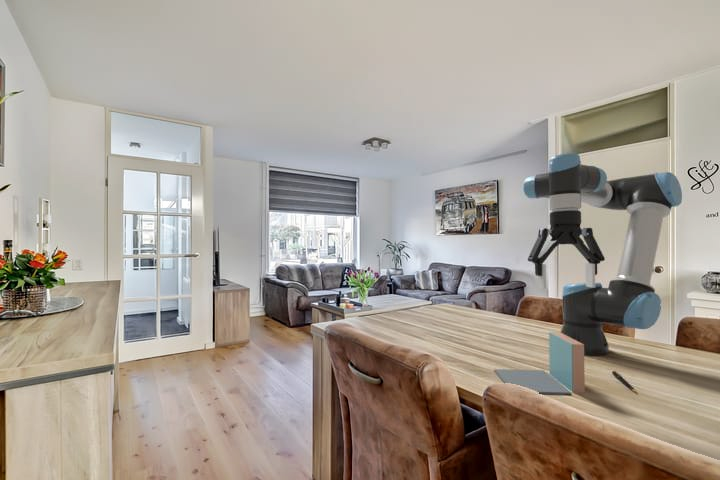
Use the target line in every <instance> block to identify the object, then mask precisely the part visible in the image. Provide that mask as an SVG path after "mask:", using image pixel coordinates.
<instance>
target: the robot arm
mask: <svg viewBox="0 0 720 480" xmlns="http://www.w3.org/2000/svg"><path fill="white" fill-rule="evenodd" d="M522 187H523V193H524V195H525V196H526V197H527V198H529V199H540V198H547V199H549V210H550V211H551V212H550V213H549V225H550V228H546V227H545V228H539V229H538V234H537V238H536V239H535V243H534V244H533V247H532V248H531V251H530V253H529V255H528V257H527V262H531V263H533V264H534V273H535V276H537V288H539V289H547V265H546V264H544V262H545V261H546V260H547V258H549V256H550V255H551V253H553V251H554V250H555V248H557V247H558V246H559V245H572V246H574V247H575V248H576V250H578V252H579V253H580V255H582V256H583V258H584V259H585V260H586V263H585V264H584V265H585V269H584V270H585V282H580V283H579V282H578V283H569V284H565V285H564V286H563V287H562V295H561V298H562V327H561V329H560V331H559V332H560V333H562V334H564V335H566V336H568V337H570V338H572V339H574V340H576V341H578V342H580V343H582V344H584V355H588V356H589V355H590V356H603V355H607V354H609V352H610V346H609V342H608V340H607V338H606V335H605V332H604V330H603V324H608V325H614V326H619V327H624V328H627V329H635V330H636V329H637V330H648V329H650V328H651V327H653V326H654V325H655V324H656V323H657V321H658V319H659V317H660V315H661V310H662V306H661V304H662V300H661V298H660V296H659V294H658V293H655V292H656V290H655V288H654V287H653V285H651V280H652V276H653V275H652V274H653V270H654V264H655V261H656V260H655V259H656V255H657V250H658V245H659V240H660V234H661V230H662V225H663V220H664V218H666V217H667V216H670V214H671V210H672V207H673V208H675V207H678V206H679V205H681V204H682V201H683V193H682V191H683V190H682V188H681V184H680V181H679V180H678V177H677V176H676V175H675V174H674V173H673V172H670V171H669V172H668V171H667V172H666V171H665V172H654V173H651V174H643V175H637V176H631V177H622V178H618V179H612V180H608V176H607V173H606V172H605V170H603V169H602V168H600V167H597V166H595V165H594V166H593V165H587V164H586V165H584V164H582V161H581V156H580V154H579V153H573V152H572V153H571V152H567V153H560V154H556V155H553V156H552V157H550V158H549V162H548V171H547V172H546V173H541V174H540V173H539V174H534V175H531V176H528V177H526V179H525V180H524V181H523V186H522ZM582 203H583V204H587V205H588V206H591V207H592V208H600V209H606V210H611V211H612V210H613V211H626V212H627V214H629V215H630V216H629V220H628V225H627V229H626V234H625V239H624V241H623V242H624V243H623V248H622V252H621V257H620V260H619V264H618V269H617V274H616V277H615V278H613V279H611V280H610V281H609V284H608V287H603V285H602V283H601V282H596V276H597V275H598V265H599V264H600V263H601V262H604V261H605V260H606V259H605V256H604V254H603V252H602V250H601V248H600V246H599V244H598V242H597V240H596V239H595V236H594V231H593V228H592V227H583V228H581V223H582V211H581V210H580V209H581V208H582ZM549 236H550V238H549V241H547V239H548V237H549ZM580 236H581V237H583V239H582V238H581V237H580ZM583 240H584V241H583ZM546 242H547V244H546V245H545V243H546ZM584 242H585V243H586V244H585V243H584Z"/></svg>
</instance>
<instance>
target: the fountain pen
mask: <svg viewBox="0 0 720 480" xmlns="http://www.w3.org/2000/svg"><path fill="white" fill-rule="evenodd" d="M611 373H612V375H613V376H614V377H615V378H616V379H617V380H619V381H620V382H621V383H622V384H623V385H624V386H625V387H627V388H628V389H629V390H630V391H632V392H636V389H635V387H633V386H632V385H631V384H630V383H629V382H628V381H627V380H626V379H625V378H623V376H622V374H621V373H620V372H618V371H616V370H613V371H612V372H611Z"/></svg>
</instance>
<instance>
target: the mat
mask: <svg viewBox="0 0 720 480" xmlns="http://www.w3.org/2000/svg"><path fill="white" fill-rule="evenodd" d="M493 372H494V373H495V374H496V375H497V376H498V378H499V379H500V380H501V381H502V383H504V384H505V383H511V384H516V385H520V386H523V387H527V388H529V389H532V390H535V391H537V392H539V393H541V394H540V395H565V394H569V396H571V395H572V392H571V391H570V390H569V389H567V388H566V387H565V386H564V385H562V384H561V383H560V382H559V381H557V380H556V379H555V378H554V377H552V376H551V375H550V373H549V372H546V370H544V369H543V370H542V369H504V368H503V369H501V368H499V369H497V368H496V369H495V368H494V369H493Z"/></svg>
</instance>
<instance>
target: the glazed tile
mask: <svg viewBox="0 0 720 480" xmlns="http://www.w3.org/2000/svg"><path fill="white" fill-rule="evenodd" d="M560 332H561V331H556V332H555V331H554V332H553V331H549V332H548V340H549V341H548V343H549V344H548V351H549V352H548V353H549V354H548V355H549V357H548V358H549V360H548V361H549V375H550V376H551V377H553V378H554V379H555V380H556V381H557V382H559V383H560V384H561V385H562V386H564V387H565V388H566V389H567V388H568V389H567V390H569V391H570V392H571V391H572V392H571V393H579V392H584V393H586V392H585V391H586V388H585V384H586V383H585V382H586V381H585V379H586V378H585V354H584V344H582V343H580V342H578V341H576V340H574V339H572V338H570V337H568V336H566V335H564V334H562V333H560Z"/></svg>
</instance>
